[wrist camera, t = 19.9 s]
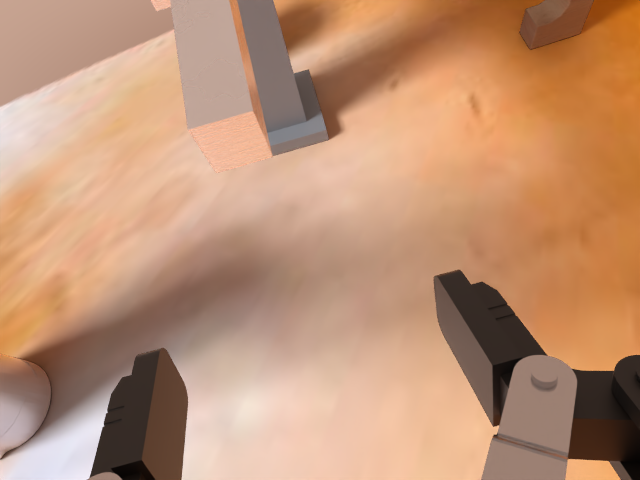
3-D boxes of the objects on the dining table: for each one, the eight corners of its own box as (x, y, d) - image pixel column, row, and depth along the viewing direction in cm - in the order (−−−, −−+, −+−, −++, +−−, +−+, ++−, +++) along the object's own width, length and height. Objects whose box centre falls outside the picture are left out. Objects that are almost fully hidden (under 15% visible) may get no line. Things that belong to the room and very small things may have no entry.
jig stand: (340, 179, 57) (269, -149, 26) (259, 202, 58) (95, -95, 27) (298, 38, 68) (212, -316, 37) (229, 58, 68) (87, -275, 37)
